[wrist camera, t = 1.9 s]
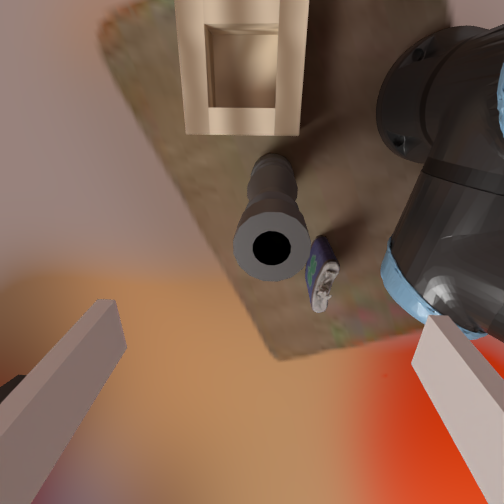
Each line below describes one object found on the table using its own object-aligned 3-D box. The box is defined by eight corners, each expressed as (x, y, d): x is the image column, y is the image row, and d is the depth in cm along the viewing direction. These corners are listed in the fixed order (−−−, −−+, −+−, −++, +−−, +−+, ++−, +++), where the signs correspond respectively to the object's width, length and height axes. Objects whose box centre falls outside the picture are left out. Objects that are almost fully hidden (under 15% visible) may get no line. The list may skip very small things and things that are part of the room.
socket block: (304, 5, 34) (310, -15, 28) (295, 132, 40) (298, 135, 35) (188, 6, 35) (173, -13, 29) (197, 131, 41) (185, 134, 35)
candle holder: (295, 191, 44) (318, 279, 21) (255, 197, 45) (238, 288, 22) (290, 149, 41) (311, 201, 19) (248, 157, 42) (220, 215, 20)
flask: (317, 283, 51) (327, 322, 41) (300, 280, 51) (307, 319, 41) (330, 236, 47) (345, 268, 37) (313, 233, 47) (323, 264, 37)
